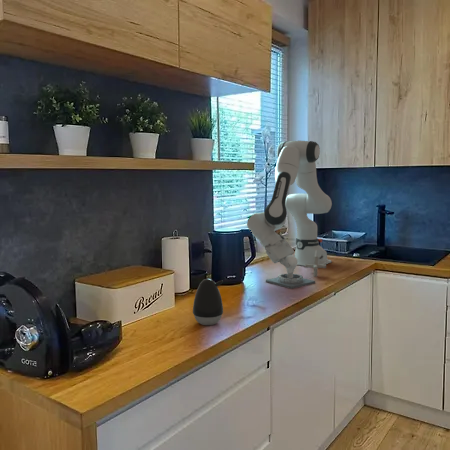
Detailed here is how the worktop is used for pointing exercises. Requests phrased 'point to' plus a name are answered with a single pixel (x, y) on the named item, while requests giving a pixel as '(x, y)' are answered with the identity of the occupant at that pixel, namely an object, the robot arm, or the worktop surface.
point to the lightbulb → (291, 265)
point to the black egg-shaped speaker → (208, 303)
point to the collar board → (294, 285)
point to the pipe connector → (315, 265)
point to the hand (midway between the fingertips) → (291, 265)
